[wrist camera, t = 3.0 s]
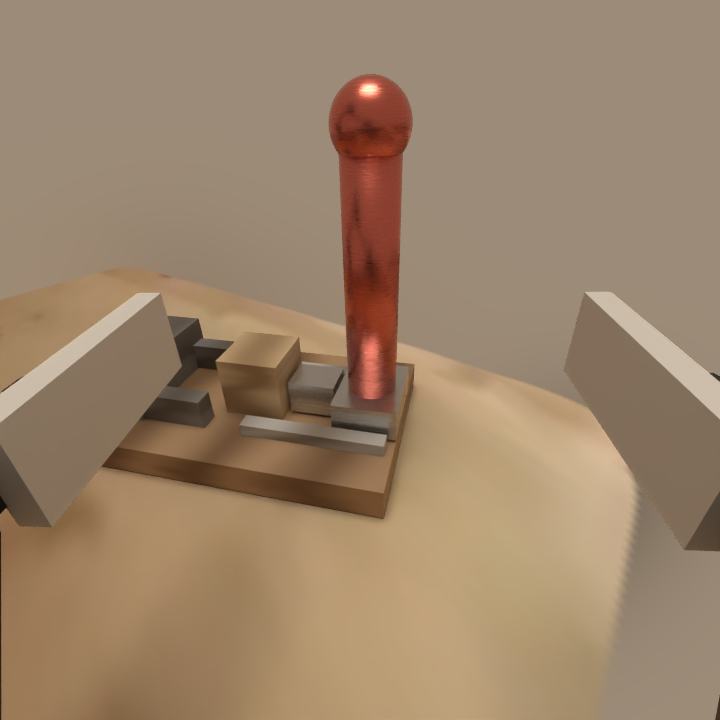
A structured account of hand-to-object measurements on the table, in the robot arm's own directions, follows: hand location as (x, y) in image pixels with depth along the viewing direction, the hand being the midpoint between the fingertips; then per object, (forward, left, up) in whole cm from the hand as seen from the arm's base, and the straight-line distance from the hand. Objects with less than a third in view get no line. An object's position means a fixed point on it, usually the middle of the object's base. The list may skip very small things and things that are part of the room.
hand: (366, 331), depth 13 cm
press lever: (-4, +10, -11) cm, 15 cm away
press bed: (-10, +10, -13) cm, 19 cm away
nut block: (-9, +10, -11) cm, 17 cm away
